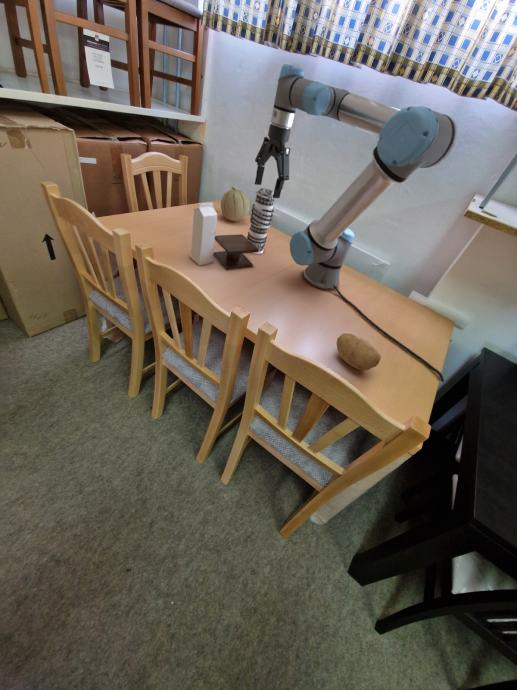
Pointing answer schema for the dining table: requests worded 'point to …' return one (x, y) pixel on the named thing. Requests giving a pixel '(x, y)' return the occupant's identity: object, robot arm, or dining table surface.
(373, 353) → the potato
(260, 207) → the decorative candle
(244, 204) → the cantaloupe
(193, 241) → the milk
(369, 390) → the dining table surface
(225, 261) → the stand
